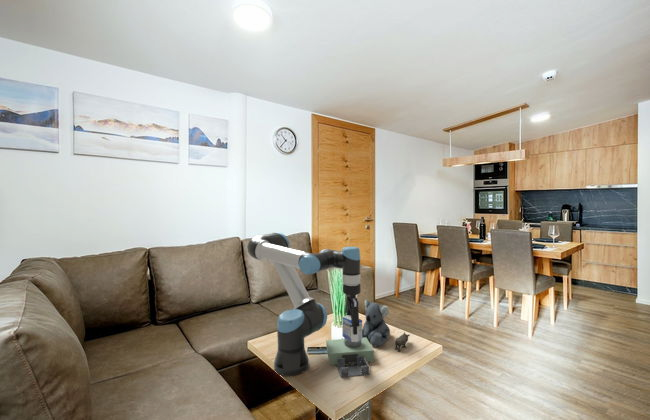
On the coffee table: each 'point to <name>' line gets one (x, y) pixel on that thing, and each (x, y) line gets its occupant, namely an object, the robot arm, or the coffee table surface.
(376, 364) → the coffee table surface
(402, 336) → the rhino figurine
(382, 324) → the koala plush
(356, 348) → the sage green box
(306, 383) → the coffee table surface
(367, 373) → the chute bracket
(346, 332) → the medicine box
